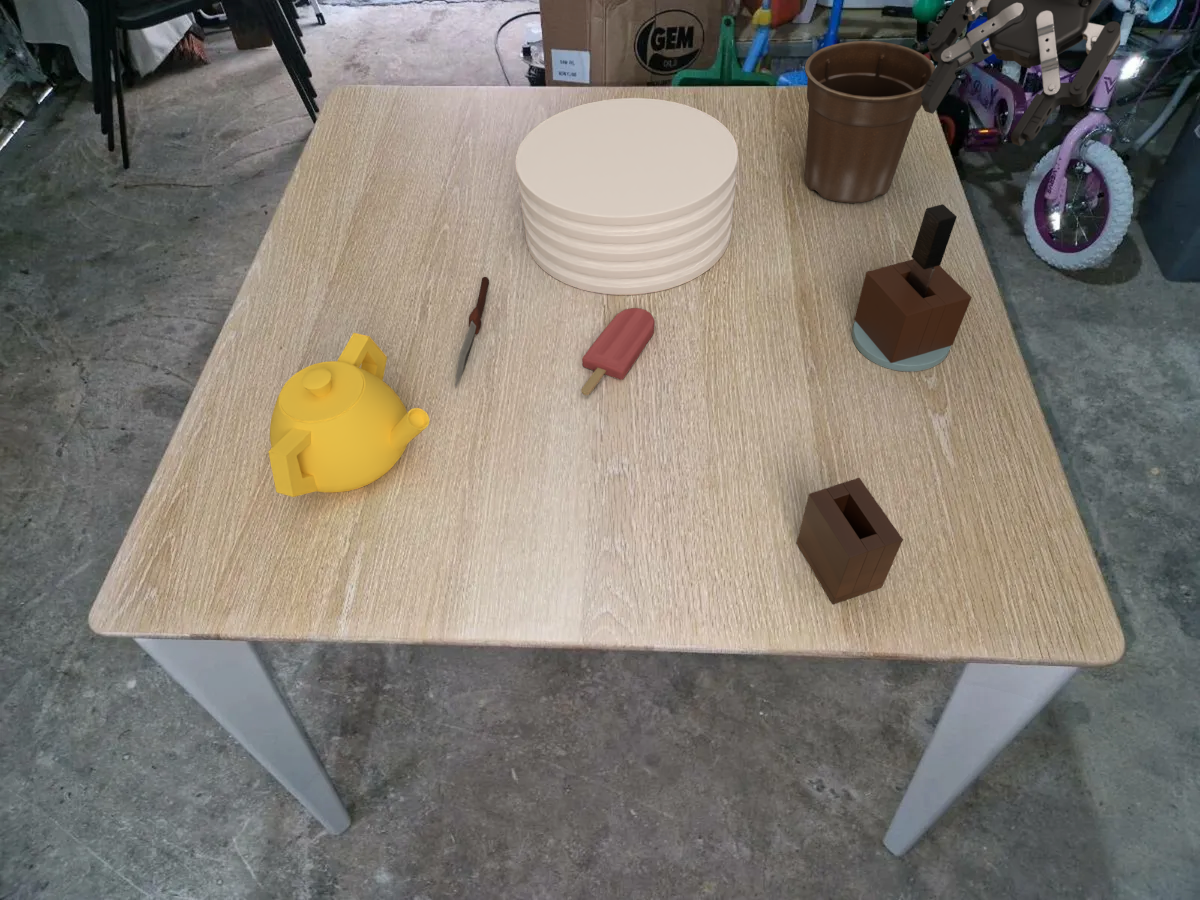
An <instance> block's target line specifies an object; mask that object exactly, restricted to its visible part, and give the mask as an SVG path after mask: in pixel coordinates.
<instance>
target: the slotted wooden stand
mask: <svg viewBox="0 0 1200 900" xmlns="http://www.w3.org/2000/svg"><path fill="white" fill-rule="evenodd" d="M913 263H914V259H913V258H912V259H908V260H905V261H901V262H897V263H893V264H890V265H886V266H883V267H879V268H875V269H872V270H868V271H866V272H865V276H864V280H863V283H862V287H861V291H860V295H859V299H858V301H857V302H858V303H857V306H856V311H855V314H854V318H853V320H854V322H853V326H852V330H851V337H852V338H851V339H852V341H853V344H854V345H855V348H856V349H857V351H858V352H859V353H860V354H861V355H862V356H863V357H865V358H866V359H867V360H869V361H870V362H871V363H873V364H876V365H878V366H880V367H882V368H886V369H888V370H893V371H896V372H897V371H898V372H910V373H911V372H923V371H926V370H929V369H932V368H934V367H936V366H938V365H939V364H941V363H942V362H943V361H944V360H945V359H946V358H947V357H948V355H949V352H950V350H951V347H952V346H953V345H954V343H955V340H956V339H957V336H958V333H959V330H960V328H961V325H962V324H963V323H962V322H963V320H964V318H965V316H966V313H967V310H968V308H969V305H970V303H971V300H972V296H971V294H969V293H968V292H967V291H966V290H965V289H964V288H963V287H962V286H961V285H960V284H959V283H958V282H957V281H956V280H955V279H954V278H953V277H952V276H951V275H950V274H949V273H948V272H947V271H946V270H945V269H944V268H943V267H942V266H941V264H940V265H939V266H935V267H933V268H934V269H935V270H934V273H933V276H932V279H931V282H930V285H929V288H928V291H927V294H926V297H925V298H922V297H921V296H920V295H919V294H918V293H917V292H916V290H915V289H914V288H913V287H912V286H911V285H910V284H909V283H908V279H909V276H910V273H911V270H912V266H913Z"/></svg>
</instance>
